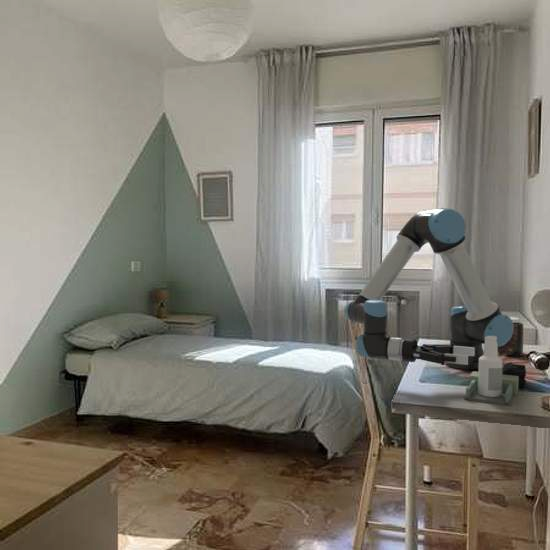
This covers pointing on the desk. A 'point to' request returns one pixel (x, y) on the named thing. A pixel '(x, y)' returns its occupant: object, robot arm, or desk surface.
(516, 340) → the jar
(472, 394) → the chute bracket
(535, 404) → the desk surface
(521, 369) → the end cap
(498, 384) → the spray bottle
